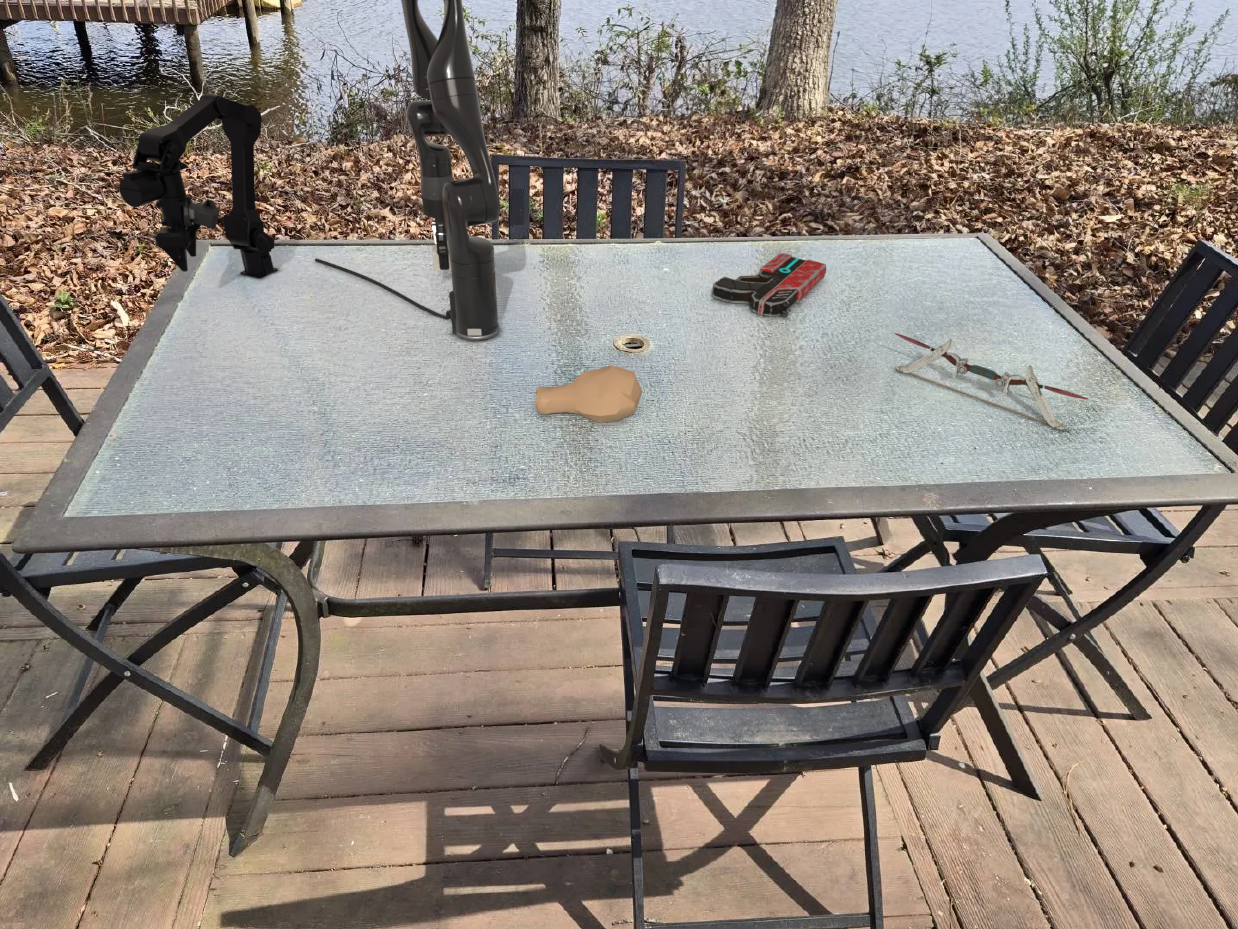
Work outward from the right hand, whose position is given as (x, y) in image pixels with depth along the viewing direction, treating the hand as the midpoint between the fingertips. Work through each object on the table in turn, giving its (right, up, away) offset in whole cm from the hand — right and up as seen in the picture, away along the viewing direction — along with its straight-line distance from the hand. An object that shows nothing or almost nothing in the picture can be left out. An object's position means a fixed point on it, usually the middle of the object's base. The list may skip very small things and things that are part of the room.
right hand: (444, 264), depth 209 cm
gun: (+79, -5, +7) cm, 80 cm away
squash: (+36, -38, -45) cm, 69 cm away
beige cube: (0, 0, 0) cm, 1 cm away
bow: (+112, -35, -36) cm, 123 cm away
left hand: (-55, -3, -13) cm, 56 cm away
